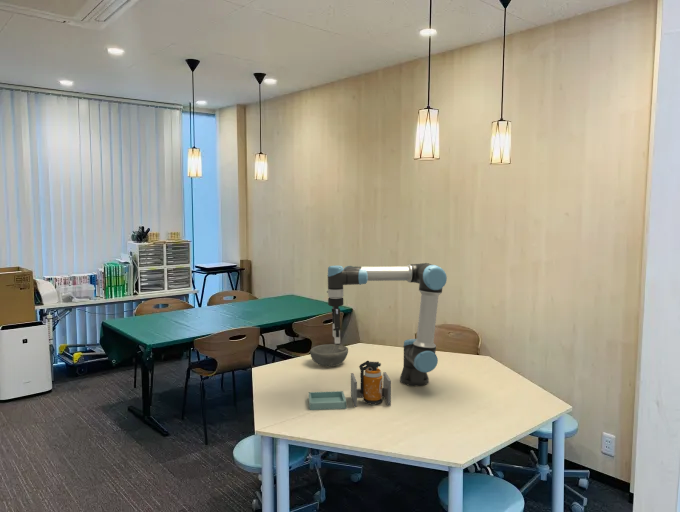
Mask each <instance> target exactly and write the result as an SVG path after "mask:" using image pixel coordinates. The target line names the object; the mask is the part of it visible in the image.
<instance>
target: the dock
mask: <svg viewBox="0 0 680 512" xmlns="http://www.w3.org/2000/svg"><path fill="white" fill-rule="evenodd" d="M360 390H361V388H358V381H357V379H356V376H355V374H354V372H351V373H350V399H351V401H352V404H353V407H354V408H357V407H358V406H357V405H358V398H364V397H363V394H361V393H360ZM382 398H384V400H385V403H386V404H387V406H390V407H391V405H392V380H391V379H390V377H389V375H388V374H387V372H385V371H383V373H382Z"/></svg>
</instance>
